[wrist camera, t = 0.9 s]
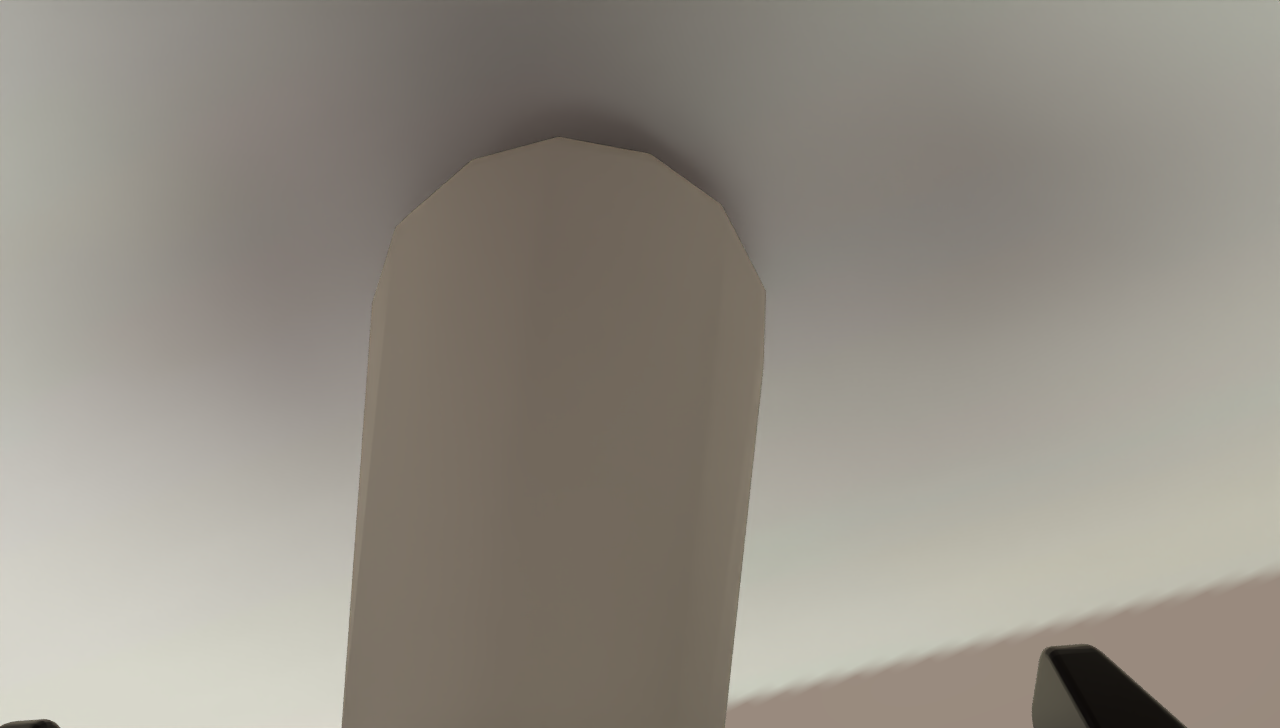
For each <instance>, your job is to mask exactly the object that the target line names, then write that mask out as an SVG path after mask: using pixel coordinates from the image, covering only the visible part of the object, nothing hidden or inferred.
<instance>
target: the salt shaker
mask: <svg viewBox="0 0 1280 728" xmlns="http://www.w3.org/2000/svg"><path fill="white" fill-rule="evenodd" d="M765 305H766V290H765V288H764V286H763V284H762V283H761V281H760V279H759V277H758V275H757V273H756V271H755V269H754V267H753V265H752V263H751V261H750V259H749V257H748V255H747V253H746V251H745V249H744V247H743V245H742V243H741V241H740V240H739V238H738V236H737V234H736V232H735V230H734V228H733V226H732V224H731V222H730V220H729V218H728V216H727V214H726V212H725V211H724V209H723V207H722V205H721V204H720V203H718V202H717V201H716V200H714V199H713V198H711V197H710V196H709V195H707V194H706V193H704V192H703V191H702V190H700V189H699V188H697V187H696V186H695V185H693V184H692V183H690V182H689V181H688V180H686V179H685V178H683V177H682V176H681V175H679V174H678V173H676V172H675V171H674V170H672V169H671V168H669V167H668V166H667V165H665V164H664V163H662V162H661V161H660V160H658V159H657V158H655V157H654V156H653V155H651V154H649V153H644V152H638V151H633V150H628V149H622V148H617V147H612V146H606V145H601V144H596V143H590V142H585V141H580V140H574V139H569V138H564V137H555V138H551V139H548V140H544V141H540V142H536V143H533V144H529V145H525V146H521V147H518V148H514V149H510V150H506V151H503V152H499V153H495V154H491V155H487V156H484V157H480V158H476V159H472V160H471V161H470V162H469V163H468V164H467V165H466V166H464V167H463V168H462V169H461V170H460V171H459V172H457V173H456V174H455V175H454V176H453V177H452V178H450V179H449V180H448V181H447V182H446V183H445V184H444V185H442V186H441V187H440V188H439V189H438V190H437V191H435V192H434V193H433V194H432V195H431V196H430V197H428V198H427V199H426V200H425V201H424V202H423V203H422V204H420V205H419V206H418V207H417V208H416V209H415V210H413V211H412V212H411V213H410V214H409V215H408V216H407V217H406V218H405V219H404V220H403V221H402V222H401V223H400V224H399V225H398V226H396V227H395V230H394V234H393V237H392V240H391V243H390V247H389V250H388V253H387V256H386V259H385V263H384V266H383V269H382V272H381V276H380V279H379V282H378V285H377V289H376V292H375V295H374V298H373V302H372V311H371V325H370V339H369V353H368V367H367V381H366V395H365V409H364V423H363V437H362V451H361V465H360V478H359V492H358V506H357V520H356V534H355V548H354V562H353V576H352V590H351V604H350V618H349V632H348V646H347V660H346V674H345V688H344V702H343V716H342V728H725V719H726V710H727V701H728V692H729V682H730V673H731V664H732V654H733V645H734V636H735V626H736V617H737V608H738V599H739V589H740V580H741V571H742V561H743V552H744V543H745V534H746V524H747V515H748V506H749V496H750V487H751V478H752V469H753V459H754V450H755V441H756V431H757V422H758V413H759V404H760V394H761V385H762V376H763V363H764V334H765Z"/></svg>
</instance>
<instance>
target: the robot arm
mask: <svg viewBox="0 0 1280 728" xmlns="http://www.w3.org/2000/svg"><path fill="white" fill-rule="evenodd" d="M1032 720H1033V727H1034V728H1187V727H1186V726H1185V725H1184V724H1182V723H1181V722H1180V721H1179V720H1178V719H1177V718H1176V717H1174V716H1173V715H1172V714H1171V713H1170V712H1169V711H1168V710H1167V709H1166V708H1164V707H1163V706H1162V705H1161V704H1160V703H1159V702H1158V701H1157V700H1155V699H1154V698H1153V697H1152V696H1151V695H1150V694H1148V693H1147V692H1146V691H1145V690H1144V689H1143V688H1142V687H1141V686H1140V685H1138V684H1137V683H1136V682H1135V681H1134V680H1133V679H1132V678H1130V677H1129V676H1128V675H1127V674H1126V673H1125V672H1124V671H1123V670H1122V669H1120V668H1119V667H1118V666H1117V665H1116V664H1115V663H1114V662H1113V661H1111V660H1110V659H1109V658H1108V657H1107V656H1106V655H1105V654H1103V653H1102V652H1101V651H1100V650H1098V649H1097V648H1095V647H1093V646H1091V645H1088V644H1075V645H1062V646H1050V647H1047V648H1045V649H1044V650H1043V651H1042V653H1041V656H1040V659H1039V666H1038V672H1037V678H1036V684H1035V690H1034V697H1033V703H1032ZM0 728H60V727H59V726H58V725H57V724H56V723H55V722H53V721H51V720H47V719H40V720H27V721H15V722H10V723H7V724H4V725H2V726H0Z"/></svg>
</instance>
